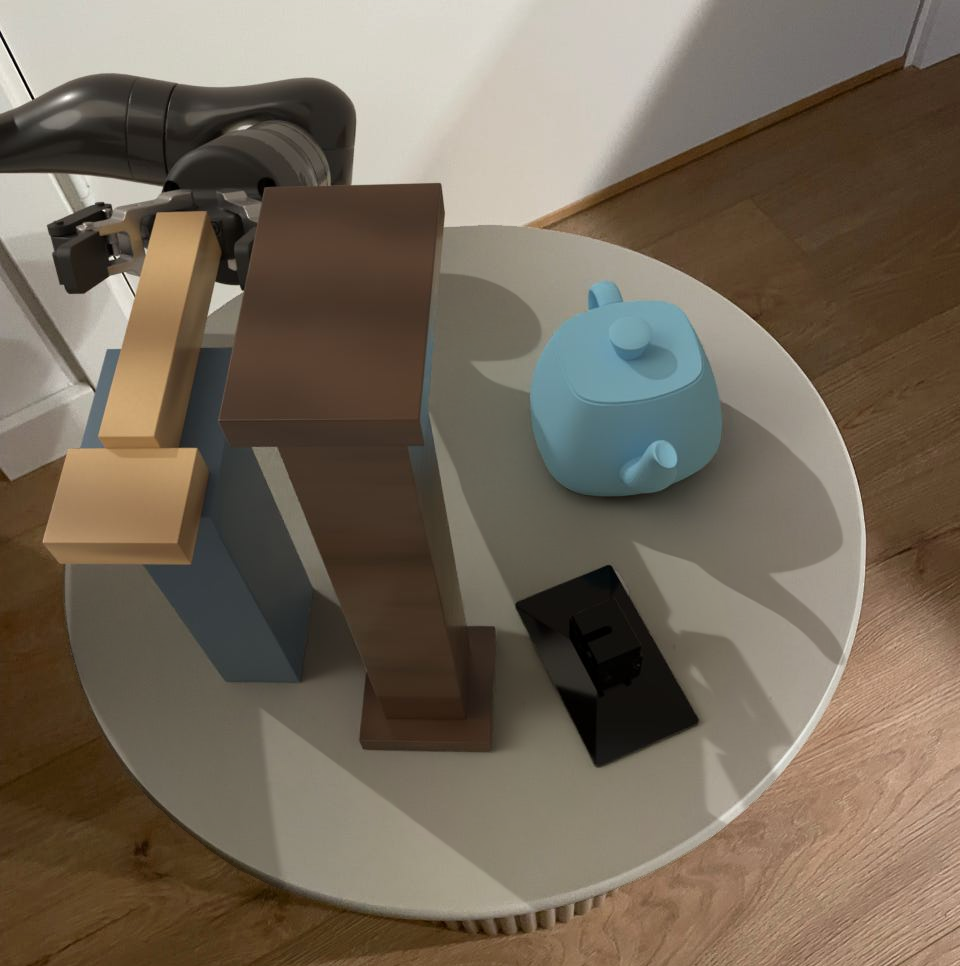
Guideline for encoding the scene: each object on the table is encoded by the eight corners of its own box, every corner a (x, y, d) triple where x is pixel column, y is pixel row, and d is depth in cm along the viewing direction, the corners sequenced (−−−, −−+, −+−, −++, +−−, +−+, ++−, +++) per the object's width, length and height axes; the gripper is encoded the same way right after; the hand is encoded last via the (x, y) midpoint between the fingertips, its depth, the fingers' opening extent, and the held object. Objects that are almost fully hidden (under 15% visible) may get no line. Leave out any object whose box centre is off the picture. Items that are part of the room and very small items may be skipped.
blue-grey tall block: (229, 568, 70) (106, 348, 51) (330, 568, 70) (243, 346, 51) (205, 703, 66) (60, 517, 47) (313, 704, 65) (210, 517, 46)
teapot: (567, 482, 59) (505, 259, 67) (566, 576, 68) (512, 371, 76) (782, 439, 59) (694, 223, 67) (751, 539, 69) (678, 339, 77)
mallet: (142, 253, 54) (123, 212, 52) (254, 250, 54) (240, 209, 51) (59, 564, 46) (33, 532, 43) (191, 565, 45) (171, 533, 43)
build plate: (513, 606, 68) (510, 569, 64) (614, 565, 69) (617, 527, 65) (595, 768, 62) (598, 740, 58) (704, 722, 63) (713, 691, 59)
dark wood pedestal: (379, 588, 69) (251, 186, 40) (498, 589, 68) (454, 181, 40) (362, 750, 64) (202, 421, 35) (491, 752, 63) (434, 419, 35)
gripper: (369, 265, 63) (313, 348, 50) (144, 269, 65) (31, 351, 51) (356, 130, 59) (292, 180, 46) (117, 137, 60) (-15, 189, 47)
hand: (154, 271), depth 48 cm, fingers open, 8 cm apart
